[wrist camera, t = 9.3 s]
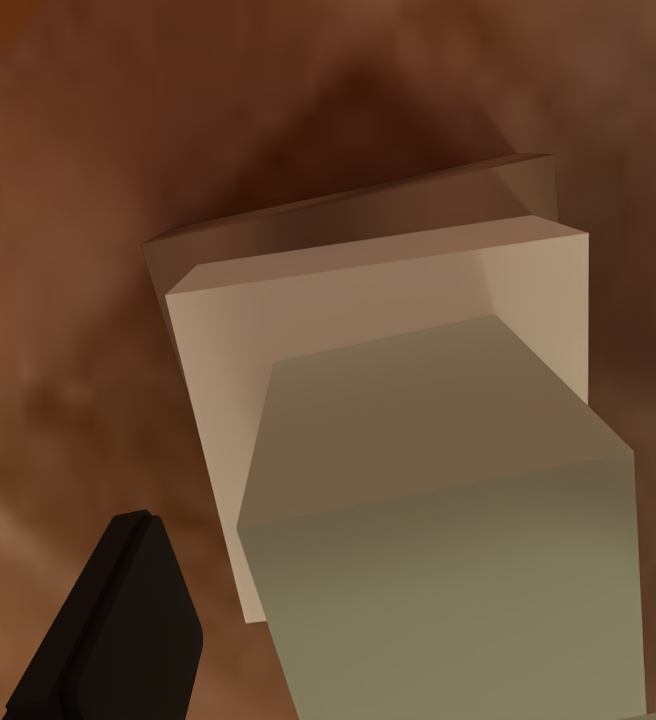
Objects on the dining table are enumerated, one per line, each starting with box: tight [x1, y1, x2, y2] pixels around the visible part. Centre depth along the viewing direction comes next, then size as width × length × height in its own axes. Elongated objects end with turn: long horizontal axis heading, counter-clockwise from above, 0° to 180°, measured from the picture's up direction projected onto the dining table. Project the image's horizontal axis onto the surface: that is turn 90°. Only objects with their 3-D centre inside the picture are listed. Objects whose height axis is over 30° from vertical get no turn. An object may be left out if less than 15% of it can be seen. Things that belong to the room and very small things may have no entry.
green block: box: [236, 315, 647, 720], centre depth 11 cm, size 5×5×6 cm
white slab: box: [165, 215, 589, 623], centre depth 16 cm, size 9×9×4 cm
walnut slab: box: [141, 153, 559, 412], centre depth 19 cm, size 11×11×4 cm
